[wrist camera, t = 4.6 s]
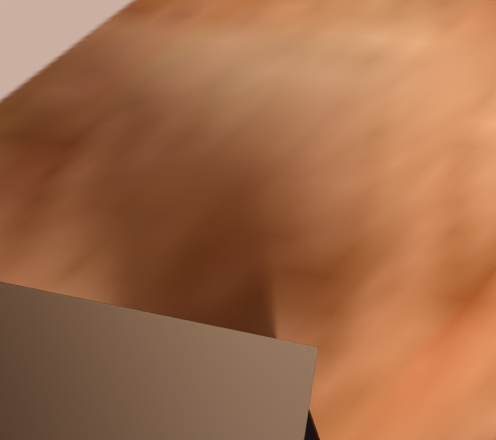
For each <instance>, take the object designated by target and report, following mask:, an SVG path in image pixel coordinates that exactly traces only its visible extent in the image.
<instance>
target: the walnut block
mask: <svg viewBox="0 0 496 440" xmlns="http://www.w3.org/2000/svg"><path fill="white" fill-rule="evenodd" d="M317 351H318V347H314V346H309V345H304V344H300V343H295V342H290V341H285V340H280V339H275V338H270V337H266V336H261V335H256V334H251V333H246V332H241V331H237V330H232V329H227V328H222V327H217V326H212V325H207V324H203V323H198V322H193V321H188V320H183V319H178V318H174V317H169V316H164V315H159V314H154V313H149V312H144V311H140V310H135V309H130V308H125V307H120V306H115V305H110V304H106V303H101V302H96V301H91V300H86V299H81V298H77V297H72V296H67V295H62V294H57V293H52V292H47V291H43V290H38V289H33V288H28V287H23V286H18V285H14V284H9V283H4V282H0V440H304V436H305V430H306V423H307V417H308V410H309V403H310V397H311V390H312V384H313V377H314V371H315V364H316V358H317Z"/></svg>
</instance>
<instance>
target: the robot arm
mask: <svg viewBox="0 0 496 440" xmlns="http://www.w3.org/2000/svg"><path fill="white" fill-rule="evenodd" d="M304 440H320V438H319V436H318V433H317V430H316V427H315V424H314V421H313V418H312V416H311V413H310V410H308V417H307V423H306V430H305V436H304Z"/></svg>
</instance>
